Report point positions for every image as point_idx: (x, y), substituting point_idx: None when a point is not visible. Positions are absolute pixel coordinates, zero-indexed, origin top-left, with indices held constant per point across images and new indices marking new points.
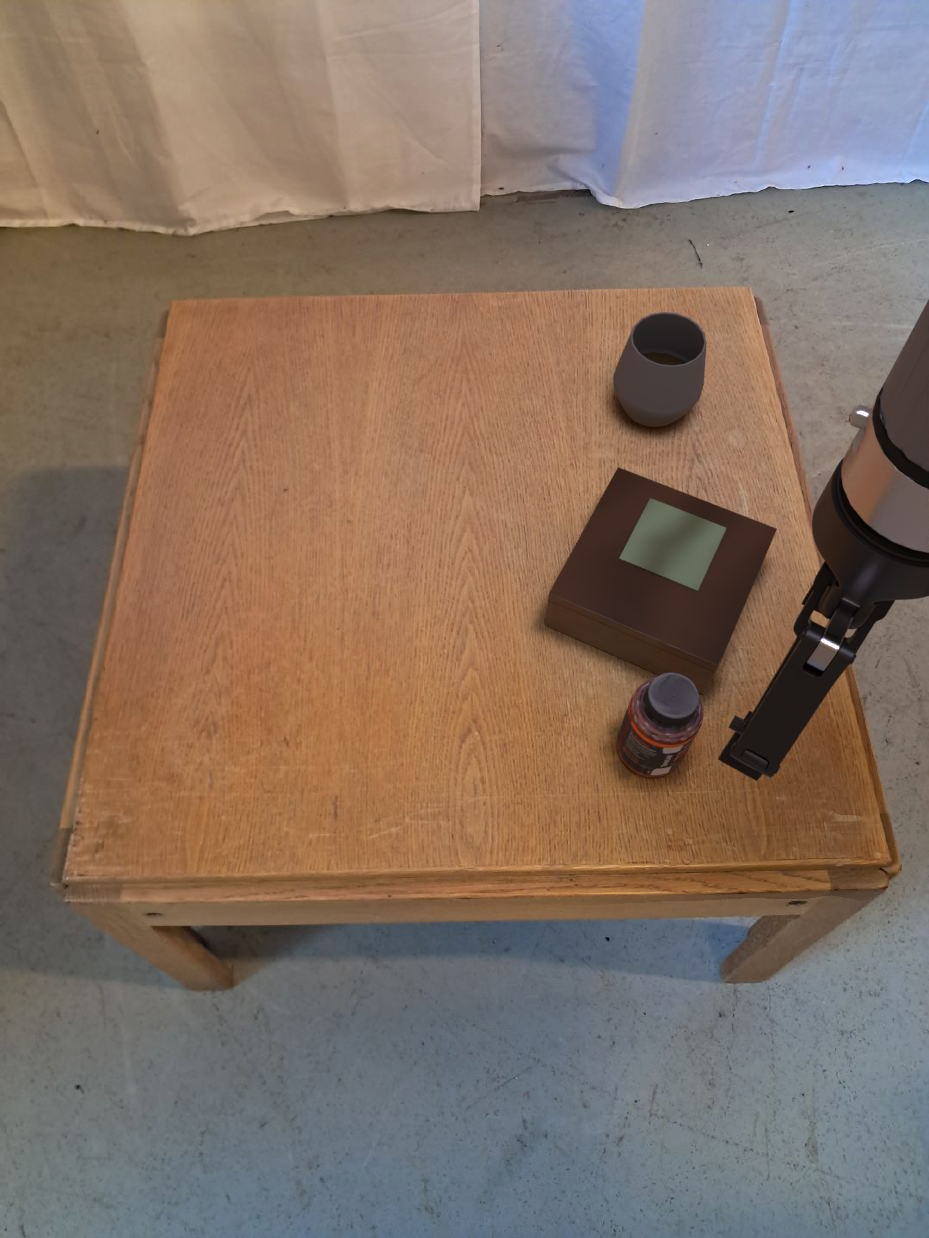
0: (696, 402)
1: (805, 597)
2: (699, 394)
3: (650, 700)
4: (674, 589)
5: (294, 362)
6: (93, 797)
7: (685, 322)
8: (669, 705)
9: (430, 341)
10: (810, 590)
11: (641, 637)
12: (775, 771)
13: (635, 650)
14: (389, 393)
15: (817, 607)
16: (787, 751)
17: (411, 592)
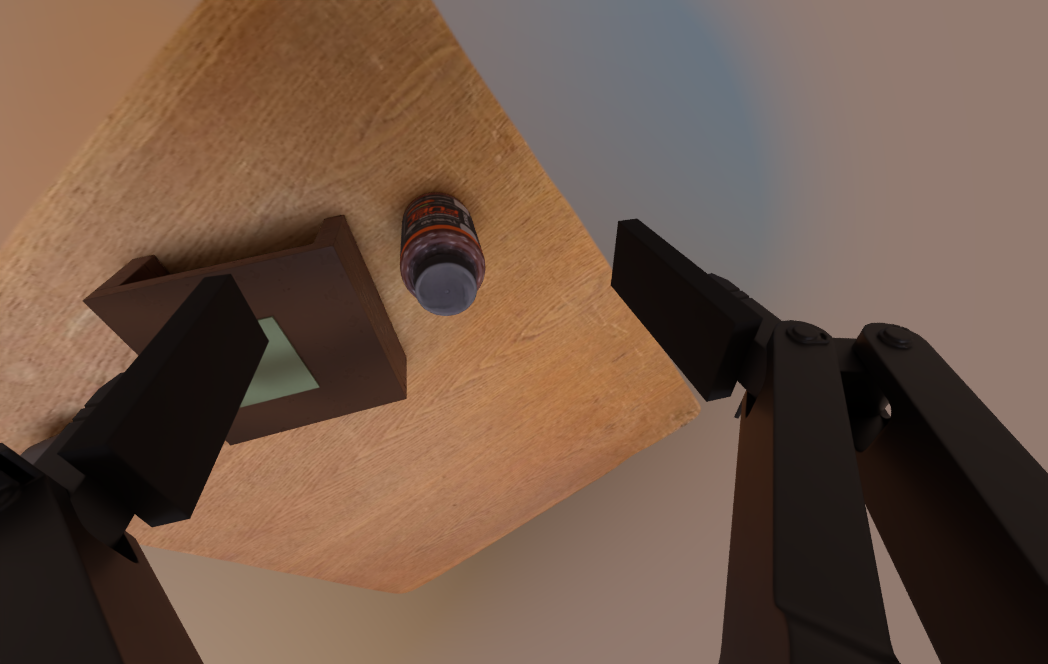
0: (51, 442)
1: (261, 357)
2: (40, 452)
3: (470, 304)
4: (295, 333)
5: (374, 559)
6: (667, 430)
7: None
8: (462, 287)
9: (274, 545)
10: (252, 377)
11: (371, 319)
12: (914, 340)
13: (374, 303)
14: (338, 528)
15: (251, 325)
16: (984, 407)
17: (458, 426)
